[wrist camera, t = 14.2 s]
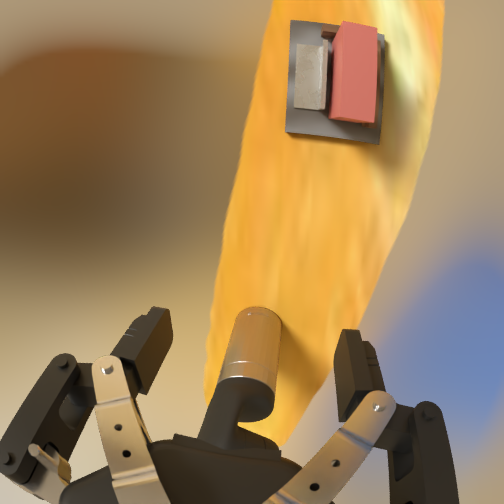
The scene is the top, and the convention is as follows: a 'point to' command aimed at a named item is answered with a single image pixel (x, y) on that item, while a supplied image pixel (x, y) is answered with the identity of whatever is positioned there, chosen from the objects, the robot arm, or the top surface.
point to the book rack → (318, 119)
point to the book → (353, 74)
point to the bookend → (311, 76)
